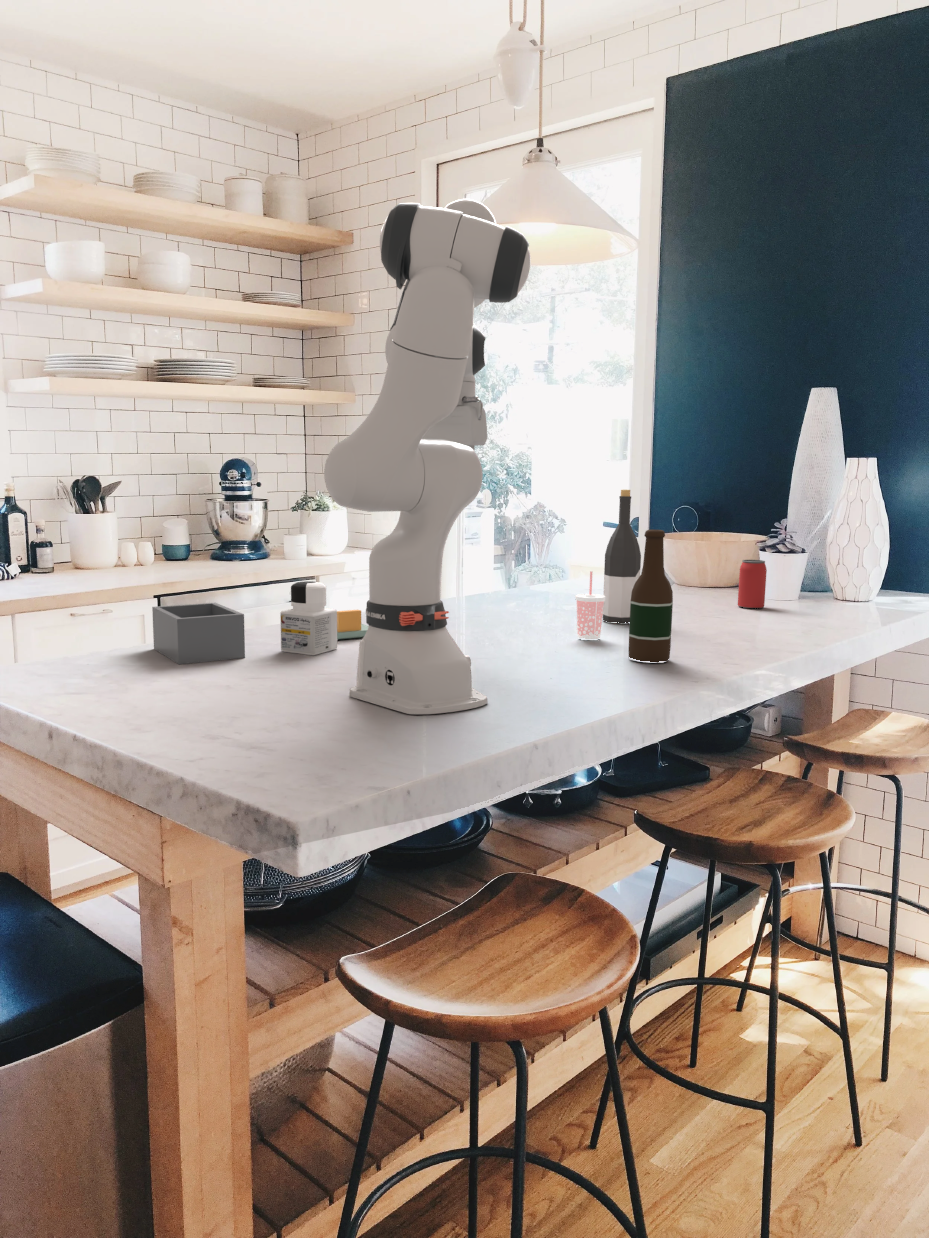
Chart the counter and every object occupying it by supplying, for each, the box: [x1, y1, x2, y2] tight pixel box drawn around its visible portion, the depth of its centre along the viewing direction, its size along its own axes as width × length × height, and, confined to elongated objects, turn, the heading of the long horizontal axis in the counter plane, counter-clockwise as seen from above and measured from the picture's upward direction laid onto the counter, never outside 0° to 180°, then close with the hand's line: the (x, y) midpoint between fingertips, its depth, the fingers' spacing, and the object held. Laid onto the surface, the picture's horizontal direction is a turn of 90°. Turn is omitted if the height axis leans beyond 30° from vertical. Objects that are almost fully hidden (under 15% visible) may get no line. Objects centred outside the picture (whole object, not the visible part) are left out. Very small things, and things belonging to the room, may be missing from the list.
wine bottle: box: [602, 489, 642, 623], centre depth 219 cm, size 8×8×30 cm
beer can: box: [737, 559, 767, 610], centre depth 245 cm, size 7×7×12 cm
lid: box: [337, 609, 369, 641], centre depth 200 cm, size 16×12×6 cm
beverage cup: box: [574, 571, 606, 639], centre depth 197 cm, size 6×6×14 cm
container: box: [279, 580, 338, 656], centre depth 181 cm, size 8×8×13 cm
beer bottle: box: [628, 529, 674, 662], centre depth 176 cm, size 8×8×24 cm
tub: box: [151, 602, 246, 665], centre depth 177 cm, size 16×12×8 cm
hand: (451, 469), depth 191 cm, fingers open, 8 cm apart
